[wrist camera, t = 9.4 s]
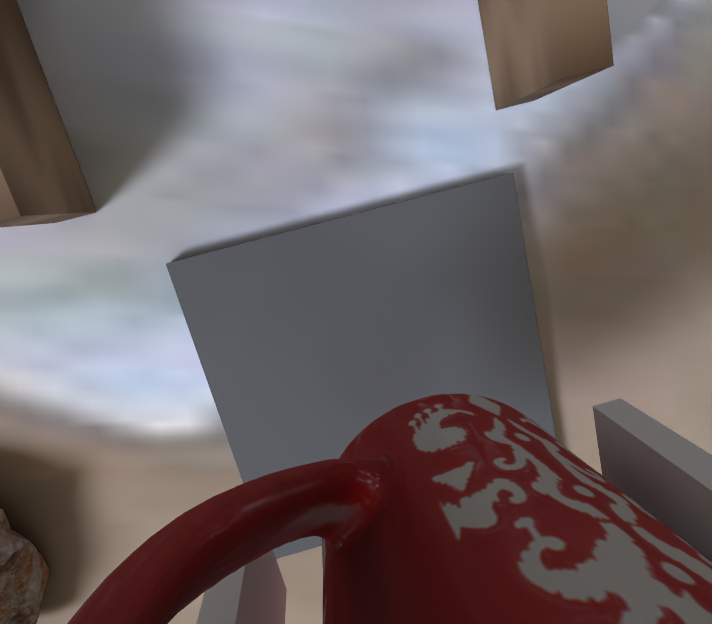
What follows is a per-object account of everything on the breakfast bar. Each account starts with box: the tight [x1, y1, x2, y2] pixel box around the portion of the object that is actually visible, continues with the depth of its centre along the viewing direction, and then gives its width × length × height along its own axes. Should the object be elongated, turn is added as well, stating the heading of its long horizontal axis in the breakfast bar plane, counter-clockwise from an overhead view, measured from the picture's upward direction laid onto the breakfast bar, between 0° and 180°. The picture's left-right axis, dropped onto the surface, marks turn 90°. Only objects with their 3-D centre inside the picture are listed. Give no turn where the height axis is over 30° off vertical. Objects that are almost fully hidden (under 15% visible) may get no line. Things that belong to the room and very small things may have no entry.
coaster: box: [166, 173, 556, 559], centre depth 21 cm, size 14×14×1 cm
